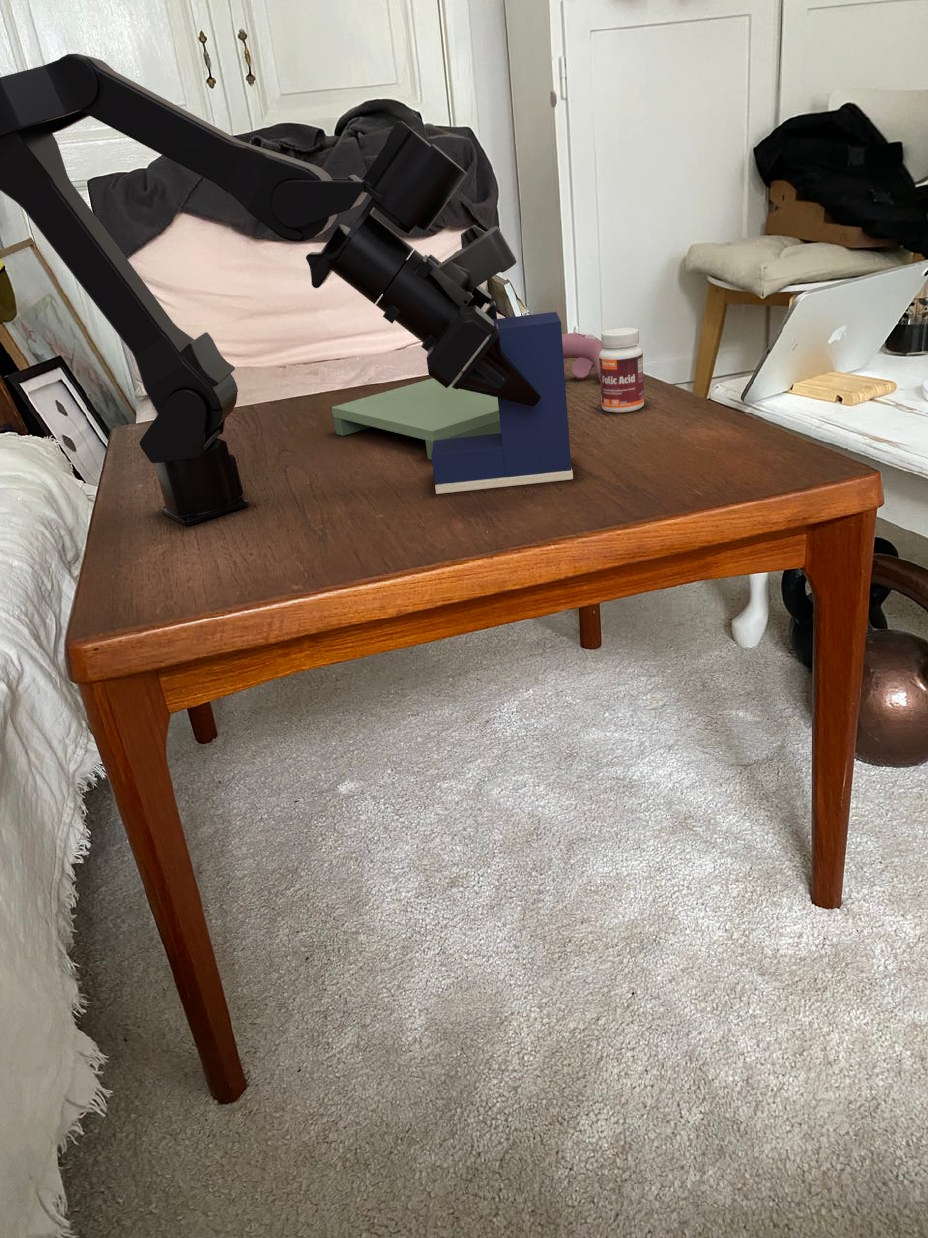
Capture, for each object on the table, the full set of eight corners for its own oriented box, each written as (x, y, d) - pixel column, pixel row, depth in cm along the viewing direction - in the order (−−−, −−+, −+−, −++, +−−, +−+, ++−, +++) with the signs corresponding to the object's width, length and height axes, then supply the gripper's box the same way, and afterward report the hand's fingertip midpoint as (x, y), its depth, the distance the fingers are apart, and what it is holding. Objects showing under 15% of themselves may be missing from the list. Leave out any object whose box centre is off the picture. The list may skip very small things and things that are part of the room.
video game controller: (609, 388, 121) (605, 334, 121) (609, 379, 117) (605, 323, 117) (531, 396, 123) (528, 342, 123) (529, 387, 118) (525, 331, 118)
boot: (436, 494, 87) (414, 338, 81) (438, 475, 92) (418, 327, 86) (573, 479, 86) (562, 321, 80) (568, 461, 91) (557, 311, 85)
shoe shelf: (436, 461, 96) (432, 430, 95) (336, 433, 111) (331, 406, 110) (552, 422, 105) (550, 393, 103) (444, 401, 119) (441, 375, 118)
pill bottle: (598, 414, 105) (594, 337, 101) (605, 402, 109) (601, 328, 106) (641, 412, 104) (638, 334, 100) (647, 401, 108) (644, 325, 104)
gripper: (449, 202, 70) (607, 335, 74) (454, 191, 87) (583, 300, 91) (362, 324, 74) (517, 445, 78) (383, 292, 91) (510, 392, 95)
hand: (534, 389), depth 86 cm, fingers open, 9 cm apart
